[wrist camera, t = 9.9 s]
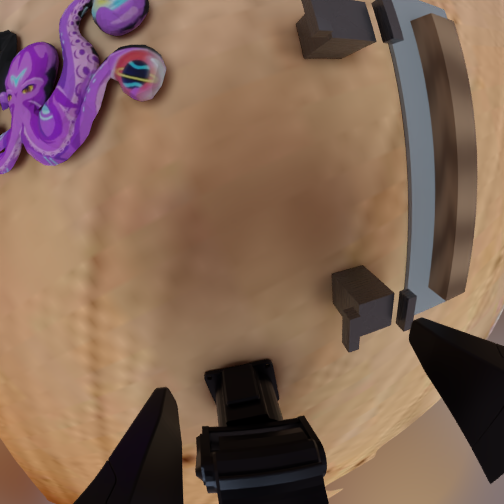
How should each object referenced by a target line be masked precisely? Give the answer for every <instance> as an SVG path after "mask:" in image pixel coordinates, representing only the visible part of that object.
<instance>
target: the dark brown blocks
mask: <svg viewBox="0 0 504 504" xmlns="http://www.w3.org/2000/svg"><path fill="white" fill-rule="evenodd" d="M332 291H333V304H334V306H335V307H336V308H337V310H338V311H339V312H340V314H341V315H342V316H343V326H342V343H343V345H344V346H345V348H346V349H347V351H348V352H352V351H355V350H358V349H359V339H360V336H363V335H366V334H368V333H371V332H374V331H377V330H379V329H382V328H385V327H387V326H390V325H391V319H392V311H393V302H394V292H392V291H391V290H390V289H389V288H388V287H387V286H386V285H385V284H384V283H382V282H381V281H380V280H379V279H378V278H377V277H376V276H375V275H373V274H372V273H371V272H370V271H369V270H368V269H367V268H365V267H364V266H363V265H362V266H359V267H355V268H352V269H348V270H344V271H340V272H337V273H333V274H332ZM416 300H417V296H416V295H415V294H414V293H413V292H412V291H410V290H409V289H405V290H402V291H400V293H399V302H398V311H397V318H396V324H397V325H398V326H399V327H400V328H401V329H402V330H403V331H406V330H409V329H411V324H412V322H413V318H414V312H415V306H416Z"/></svg>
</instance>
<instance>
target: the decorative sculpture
mask: <svg viewBox="0 0 504 504" xmlns="http://www.w3.org/2000/svg"><path fill="white" fill-rule="evenodd" d="M91 7H92V16H93V20H94V22H95V23H96V24H97V26H98V27H99V28H100V29H101V30H102V31H104V32H105V33H107V34H110V35H113V36H122V35H124V34H126V33H129V32H131V31H132V30H134V29H135V28H136V27H138V26H139V25H140V24H141V22H142V21H143V20H144V18H145V17H146V15H147V13H148V10H149V1H148V0H74V1H73V2H72V3H71V4H70V5H69V6H68V7H67V9H66V10H65V11H64V13H63V15H62V17H61V19H60V24H59V33H60V41H61V46H62V54H63V69H62V73H61V76H60V79H59V81H58V84H57V86H56V88H55V90H54V92H53V93H52V95H51V92H52V89H53V86H54V83H55V80H56V76H57V72H58V64H59V58H58V53H57V50H56V49H55V47H54V46H52V45H51V44H49V43H46V42H37V43H33V44H31V45H28V46H27V47H25V48H24V49H22V50H21V51H20V52H19V53H18V54H17V55H16V48H17V39H16V34H14V33H12V32H10V31H9V30H7V31H4V32H0V51H1V52H0V103H1V106H2V110H5V109H7V108H8V107H9V108H10V112H11V115H12V121H11V129H9V130H8V131H6V132H5V133H3V134H2V135H0V151H2V150H3V149H4V148H5V147H6V148H5V152H3V153H0V174H4V173H6V172H9V171H10V170H11V169H12V167H13V166H14V164H15V163H16V161H17V159H18V157H19V155H20V153H21V149H22V145H23V144H24V146H25V148H26V150H27V152H28V153H29V154H30V155H31V156H32V157H33V158H35V159H36V160H37V161H39V162H40V163H42V164H44V165H54V166H55V165H57V164H60V163H62V162H64V161H66V160H68V158H69V157H70V156H71V155H72V154H73V153H74V152H75V151H76V150H77V149H78V148H79V147H80V146H81V145H82V144H83V143H84V141H85V139H86V138H87V136H88V135H89V132H90V129H91V126H92V122H93V120H94V118H95V117H96V115H97V113H98V111H99V109H100V107H101V103H102V100H103V96H104V92H105V88H106V84H107V82H108V80H109V79H110V78H113V79H115V80H117V81H119V83H120V86H121V88H122V90H123V92H124V93H126V94H127V95H128V96H130V97H131V98H133V99H135V100H138V101H141V102H142V101H146V100H149V99H152V98H153V97H154V96H155V94H156V93H157V91H158V90H159V89H160V87H161V86H162V83H163V79H164V76H165V72H166V66H165V64H164V61H163V59H162V57H161V55H160V54H159V53H158V52H157V51H155V50H154V49H152V48H150V47H148V46H146V45H128V46H123V47H120V48H118V49H117V50H115V51H114V52H113V53H112V54H111V55H109V56H108V57H107V58H106V59H105V60H104V62H103V63H102V64H101V65H100V67H99V57H98V54H97V53H96V51H95V49H94V48H93V46H92V45H91V44H90V43H89V42H88V41H87V40H86V39H85V38H83V37H82V36H81V34H80V32H79V29H78V28H79V24H80V21H81V19H82V18H83V16H84V15H85V14H86V12H87V11H88V10H89V9H90V8H91ZM42 106H43V107H42ZM41 107H42V109H41Z"/></svg>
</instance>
